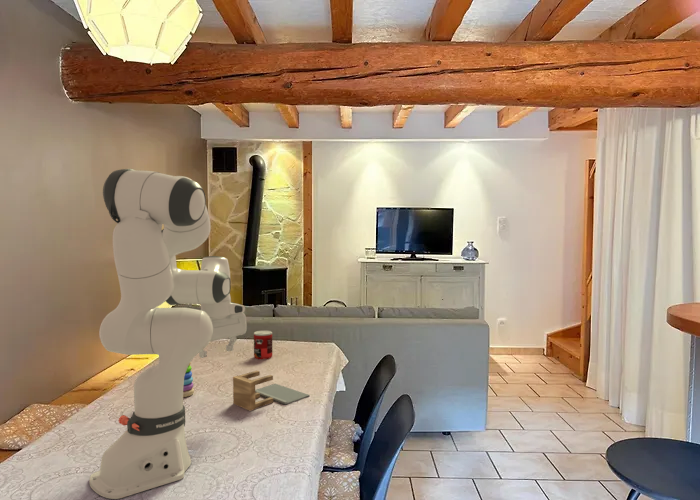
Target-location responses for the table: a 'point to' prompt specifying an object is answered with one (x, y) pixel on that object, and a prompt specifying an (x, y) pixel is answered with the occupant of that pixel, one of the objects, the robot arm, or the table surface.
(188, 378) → the stacking toy
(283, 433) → the table surface
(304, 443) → the table surface
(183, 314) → the robot arm
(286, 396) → the mat
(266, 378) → the stool
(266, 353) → the canned food
